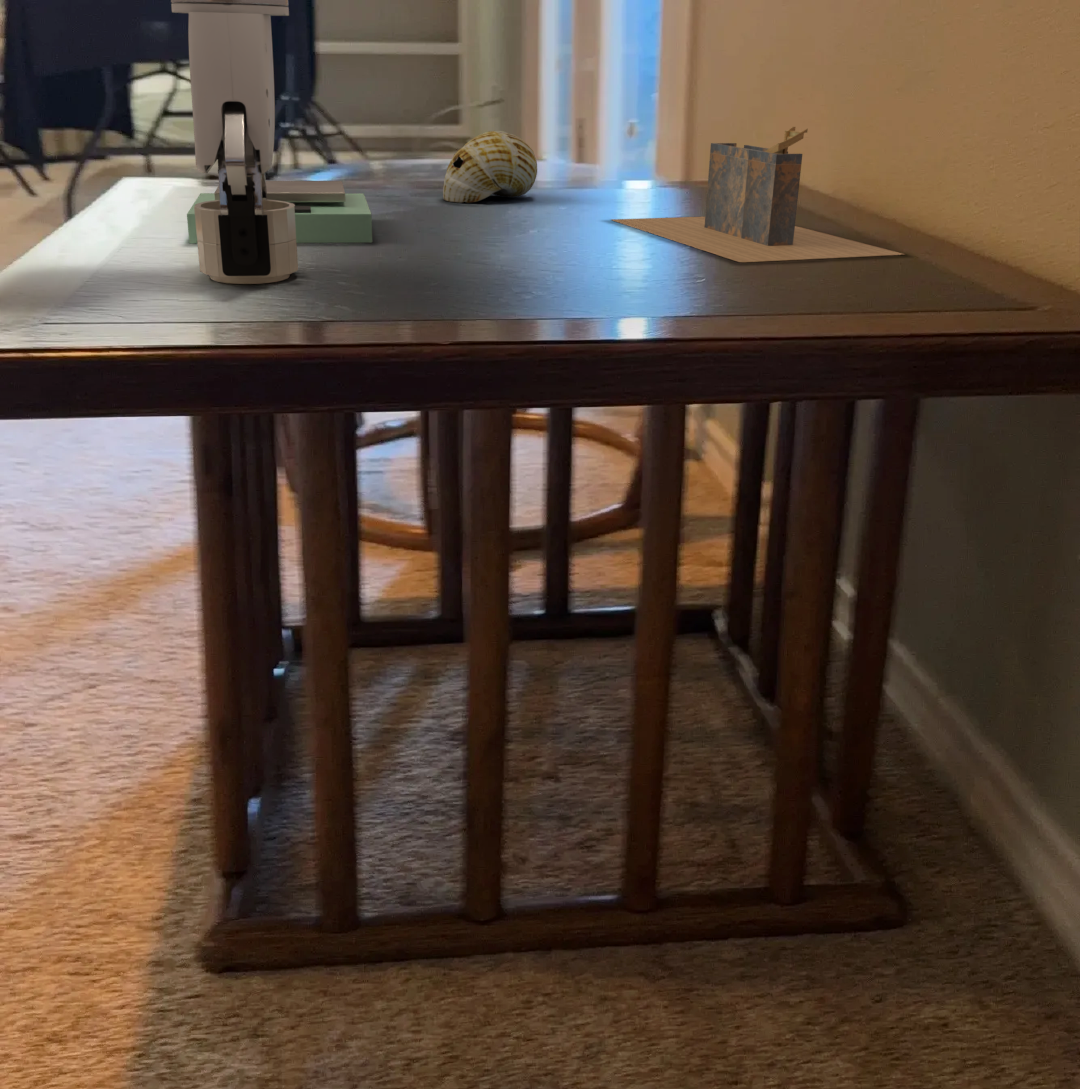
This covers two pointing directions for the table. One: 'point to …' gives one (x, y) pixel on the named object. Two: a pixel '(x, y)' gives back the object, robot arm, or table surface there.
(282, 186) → the pan
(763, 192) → the ruin model on sheet
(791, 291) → the table surface
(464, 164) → the seashell
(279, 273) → the bowl
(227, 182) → the robot arm
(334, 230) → the scale
